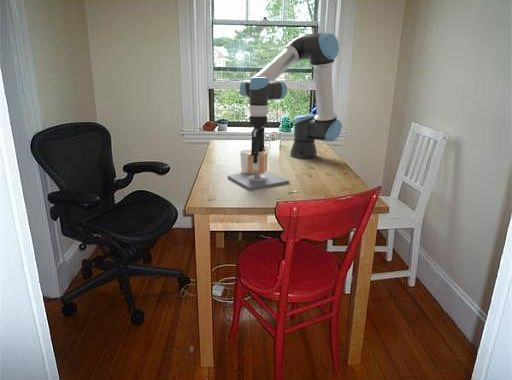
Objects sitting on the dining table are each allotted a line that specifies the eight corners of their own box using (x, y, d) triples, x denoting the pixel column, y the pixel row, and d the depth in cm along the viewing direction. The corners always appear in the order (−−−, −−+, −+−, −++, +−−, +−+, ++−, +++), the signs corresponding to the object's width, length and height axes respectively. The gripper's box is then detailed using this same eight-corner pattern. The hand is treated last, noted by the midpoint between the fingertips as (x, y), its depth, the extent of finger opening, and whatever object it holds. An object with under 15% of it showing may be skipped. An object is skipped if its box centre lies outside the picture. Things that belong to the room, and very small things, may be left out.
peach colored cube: (251, 168, 164) (252, 150, 161) (267, 169, 162) (267, 151, 160) (247, 172, 158) (248, 153, 155) (263, 173, 156) (263, 154, 153)
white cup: (242, 174, 171) (242, 153, 167) (238, 170, 178) (238, 150, 175) (258, 173, 173) (258, 152, 169) (254, 169, 180) (254, 149, 177)
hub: (264, 172, 175) (264, 161, 173) (289, 183, 158) (289, 171, 157) (227, 178, 165) (227, 167, 163) (249, 190, 149) (249, 178, 147)
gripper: (255, 112, 162) (254, 161, 170) (243, 117, 144) (243, 173, 151) (271, 112, 161) (270, 163, 168) (261, 118, 142) (260, 174, 150)
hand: (257, 167), depth 160 cm, fingers closed on peach colored cube, 7 cm apart
